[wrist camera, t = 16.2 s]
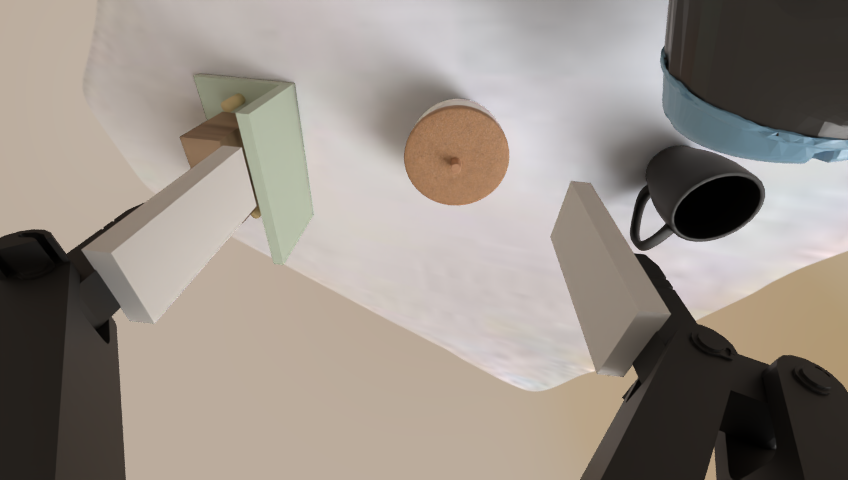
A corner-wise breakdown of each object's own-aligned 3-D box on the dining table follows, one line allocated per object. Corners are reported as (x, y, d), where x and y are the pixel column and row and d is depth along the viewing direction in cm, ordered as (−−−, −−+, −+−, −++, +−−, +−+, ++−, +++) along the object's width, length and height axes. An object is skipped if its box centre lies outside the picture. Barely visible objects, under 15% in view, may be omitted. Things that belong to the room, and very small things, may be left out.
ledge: (199, 73, 40) (127, 102, 31) (294, 83, 40) (248, 114, 31) (239, 206, 51) (193, 255, 42) (313, 214, 51) (283, 264, 42)
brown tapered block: (221, 111, 41) (178, 136, 35) (255, 115, 41) (218, 141, 35) (241, 186, 48) (208, 219, 41) (271, 189, 47) (242, 223, 41)
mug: (592, 188, 45) (618, 232, 37) (688, 119, 39) (743, 154, 31) (628, 225, 48) (659, 272, 40) (723, 165, 42) (780, 208, 34)
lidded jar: (394, 118, 42) (380, 150, 34) (475, 66, 37) (479, 90, 30) (441, 187, 47) (437, 228, 39) (517, 148, 43) (528, 186, 35)
